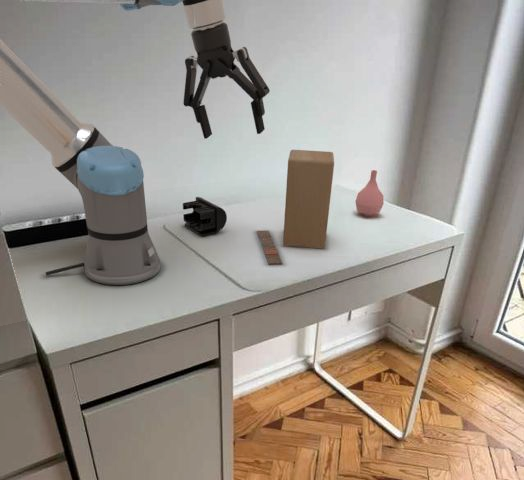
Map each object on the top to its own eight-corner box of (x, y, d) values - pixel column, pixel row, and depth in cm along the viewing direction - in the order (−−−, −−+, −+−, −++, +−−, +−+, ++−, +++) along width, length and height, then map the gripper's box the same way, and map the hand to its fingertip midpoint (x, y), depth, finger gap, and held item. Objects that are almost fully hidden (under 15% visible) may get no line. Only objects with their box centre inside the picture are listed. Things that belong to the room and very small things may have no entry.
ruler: (256, 232, 126) (256, 230, 126) (268, 232, 126) (268, 230, 126) (268, 264, 110) (268, 262, 109) (282, 264, 110) (282, 262, 110)
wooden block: (324, 234, 126) (333, 151, 115) (324, 249, 118) (334, 161, 107) (285, 231, 127) (290, 148, 116) (282, 246, 119) (288, 158, 108)
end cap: (227, 232, 125) (227, 205, 121) (202, 237, 122) (202, 210, 118) (206, 220, 132) (206, 195, 128) (182, 225, 128) (181, 199, 124)
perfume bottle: (364, 220, 136) (371, 175, 130) (348, 212, 142) (354, 168, 135) (387, 217, 139) (394, 173, 133) (370, 209, 145) (376, 166, 138)
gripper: (271, 10, 97) (290, 123, 110) (166, 31, 107) (195, 132, 121) (257, 19, 92) (278, 136, 105) (148, 40, 102) (180, 144, 116)
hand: (234, 134), depth 113 cm, fingers open, 13 cm apart
